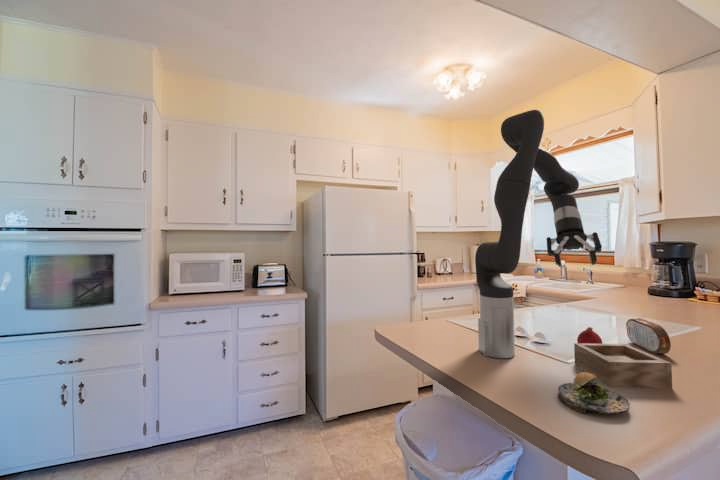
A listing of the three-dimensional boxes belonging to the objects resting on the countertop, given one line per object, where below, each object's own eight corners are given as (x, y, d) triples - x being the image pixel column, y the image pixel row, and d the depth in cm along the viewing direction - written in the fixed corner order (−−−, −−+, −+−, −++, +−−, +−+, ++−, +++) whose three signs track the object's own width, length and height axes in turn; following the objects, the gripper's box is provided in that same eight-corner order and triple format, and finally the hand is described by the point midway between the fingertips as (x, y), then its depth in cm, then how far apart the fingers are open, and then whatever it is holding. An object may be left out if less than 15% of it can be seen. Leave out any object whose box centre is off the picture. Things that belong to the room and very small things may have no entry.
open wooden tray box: (610, 388, 69) (609, 361, 69) (574, 365, 82) (574, 343, 82) (672, 390, 68) (671, 363, 68) (626, 366, 81) (626, 343, 81)
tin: (672, 358, 85) (671, 328, 85) (659, 357, 86) (658, 327, 86) (635, 341, 100) (634, 315, 100) (624, 340, 101) (623, 315, 101)
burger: (584, 421, 56) (583, 381, 56) (545, 390, 68) (545, 357, 68) (648, 421, 56) (648, 380, 57) (598, 390, 68) (598, 356, 68)
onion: (595, 359, 85) (595, 331, 85) (573, 353, 90) (572, 326, 90) (606, 355, 88) (605, 328, 88) (584, 349, 93) (583, 323, 93)
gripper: (542, 219, 104) (548, 260, 96) (594, 212, 97) (606, 256, 89) (544, 231, 109) (550, 271, 101) (593, 226, 102) (604, 268, 94)
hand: (576, 264), depth 95 cm, fingers open, 8 cm apart
